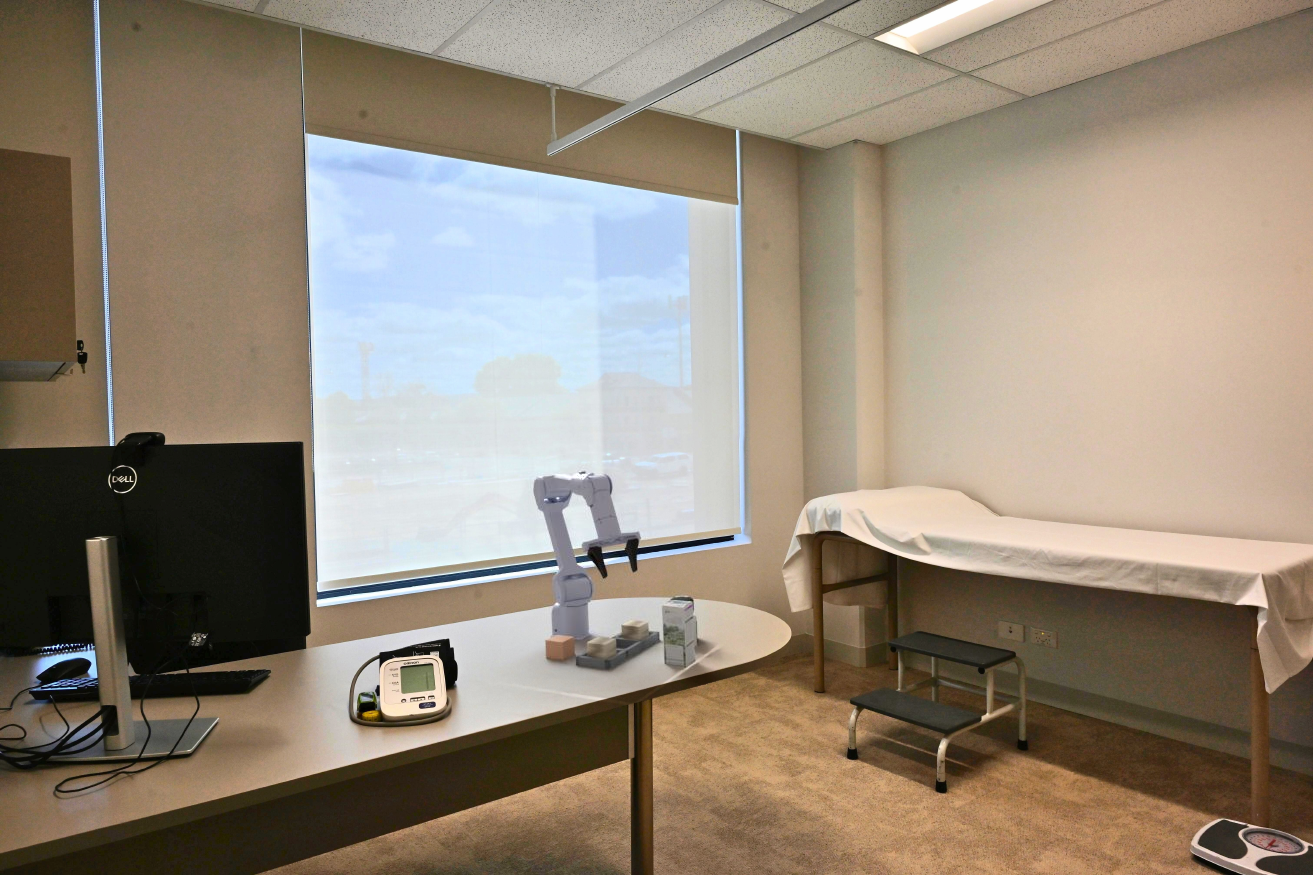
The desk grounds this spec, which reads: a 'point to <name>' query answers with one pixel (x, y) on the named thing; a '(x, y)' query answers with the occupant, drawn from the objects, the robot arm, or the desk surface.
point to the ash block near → (601, 648)
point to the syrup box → (678, 632)
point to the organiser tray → (618, 651)
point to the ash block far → (635, 630)
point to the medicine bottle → (686, 598)
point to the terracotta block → (560, 647)
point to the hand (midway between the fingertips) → (620, 574)
